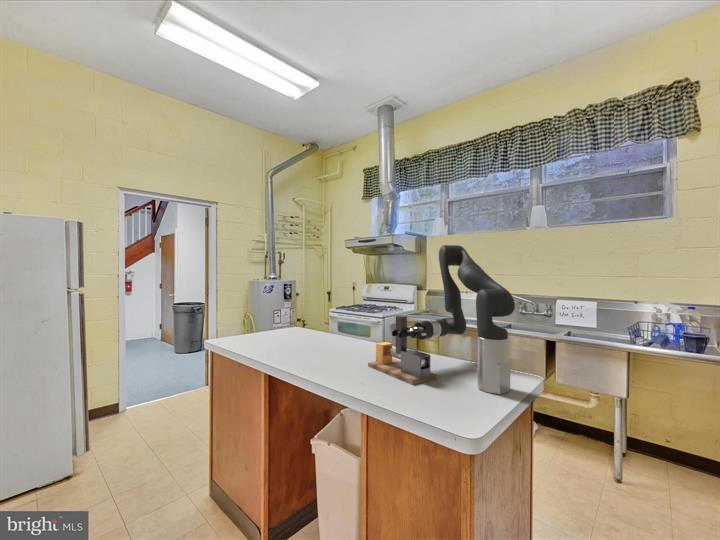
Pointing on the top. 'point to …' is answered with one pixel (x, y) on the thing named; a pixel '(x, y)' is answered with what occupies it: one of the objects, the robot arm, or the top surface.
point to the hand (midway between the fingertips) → (395, 334)
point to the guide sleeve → (415, 363)
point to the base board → (399, 372)
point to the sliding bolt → (402, 340)
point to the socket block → (383, 352)
